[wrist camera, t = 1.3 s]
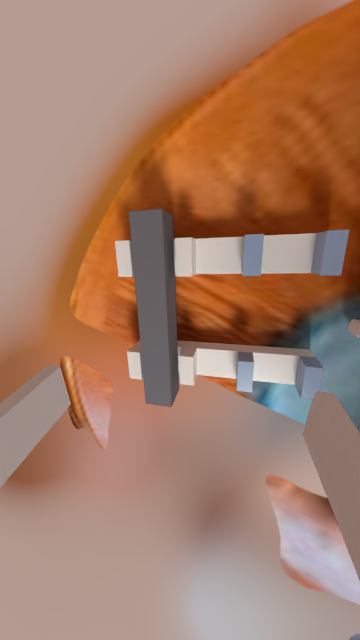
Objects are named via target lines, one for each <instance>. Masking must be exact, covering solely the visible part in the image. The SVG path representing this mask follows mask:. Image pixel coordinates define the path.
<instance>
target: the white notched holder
mask: <svg viewBox="0 0 360 640" xmlns="http://www.w3.org/2000/svg"><path fill="white" fill-rule="evenodd" d="M348 235H349V230H330V231H323V232H319V233H307V234H286V235H265V236H264V234H249V235H245V236H244V237H223V238H202V239H195V238H192V237H189V238H175V240H174V260H175V274H176V276H194V275H195V274H242V275H243V276H261V274H262V273H312V274H316V275H320V276H335V275H341V273H342V268H343V262H344V257H345V251H346V246H347V240H348ZM115 247H116V256H117V265H118V274H119V277H133V276H134V266H133V255H132V244H131V241H130V240H128V241H115ZM177 344H178V372H179V373H180V384H185V385H194V383H195V379H196V376H197V375H205V376H215V377H224V378H234V379H237V391H244V392H252V384H253V381H263V382H272V383H282V384H292V385H295V386H296V388H297V390H298V393H299V395H300V397H301V398H305V399H313V398H314V394H315V392H320V388H321V383H322V377H323V372H324V368H323V366H322V365H321V364H320V362H319V361H318V360H317V358H316V357H315V356H314V354H313V353H312V352H311V350H310V349H297V348H282V347H267V346H252V345H237V344H222V343H207V342H193V341H178V340H177ZM127 355H128V364H129V373H130V378H133V379H141V380H142V379H143V367H142V356H141V344H140V340H139V341H138V342H137V343H136V344H135V345H134V346H133V347H132V348H131V349H130V350H128V351H127Z"/></svg>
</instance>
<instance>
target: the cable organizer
mask: <svg viewBox="0 0 360 640" xmlns="http://www.w3.org/2000/svg"><path fill="white" fill-rule="evenodd" d="M346 329H347V330H348V331H349V332H351V333H352V334H354V335H355V336H356V337H358V338H359V339H360V320H357V319H352V320H351V322H350V324H349V325H348V327H347V328H346Z"/></svg>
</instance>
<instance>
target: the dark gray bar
mask: <svg viewBox="0 0 360 640" xmlns="http://www.w3.org/2000/svg"><path fill="white" fill-rule="evenodd" d="M129 222H130V233H131V244H132V255H133V266H134V278H135V289H136V300H137V311H138V322H139V333H140V344H141V356H142V367H143V378H144V389H145V400H146V403H147V404H154V405H161V406H168V407H172V404H173V402H174V400H175V398H176V395H177V393H178V390H179V372H178V344H177V316H176V288H175V260H174V233H173V215H172V214H170V213H168V212H167V211H165V210H163V209H153V210H141V211H129Z"/></svg>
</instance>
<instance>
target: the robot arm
mask: <svg viewBox="0 0 360 640" xmlns="http://www.w3.org/2000/svg"><path fill="white" fill-rule="evenodd" d="M70 405H71V403H70V400H69V396H68V393H67V389H66V386H65V382H64V379H63V375H62V372H61V368H60V366H49V365H48V366H47V367H45V368H44V369H43V370H42V371H40V372H39V373H38V374H37V375H35V376H34V377H33V378H32V379H30V380H29V381H28V382H27V383H25V384H24V385H23V386H22V387H20V388H19V389H18V390H17V391H15V392H14V393H13V394H12V395H10V396H9V397H8V398H7V399H6V400H4V401H3V402H2V403H1V404H0V487H1V486H2V485H3V484H4V482H5V481H6V480H7V479H8V478H9V477H10V475H11V474H12V473H13V472H14V471H15V470H16V468H17V467H18V466H19V465H20V464H21V462H22V461H23V460H24V459H25V458H26V457H27V455H28V454H29V453H30V452H31V451H32V449H33V448H34V447H35V446H36V445H37V444H38V442H39V441H40V440H41V439H42V438H43V436H44V435H45V434H46V433H47V432H48V430H49V429H50V428H51V427H52V426H53V425H54V423H55V422H56V421H57V420H58V419H59V418H60V416H61V415H62V414H63V413H64V412H65V410H66V409H67V408H68V407H69V406H70ZM303 436H304V438H305V441H306V443H307V446H308V449H309V451H310V454H311V456H312V459H313V461H314V464H315V467H316V469H317V472H318V474H319V477H320V480H321V482H322V485H323V487H324V490H325V492H326V495H327V497H328V500H329V503H330V505H331V508H332V510H333V513H334V515H335V518H336V521H337V523H338V526H339V528H340V531H341V533H342V536H343V539H344V541H345V544H346V546H347V549H348V551H349V554H350V556H351V559H352V562H353V564H354V567H355V569H356V572H357V574H358V577H359V580H360V432H359V431H358V429H357V428H356V426H355V425H354V423H353V422H352V420H351V419H350V417H349V416H348V414H347V413H346V411H345V410H344V408H343V407H342V405H341V404H340V402H339V401H338V399H337V398H336V396H335V395H334V393H324V392H315V394H314V398H313V401H312V404H311V408H310V411H309V415H308V418H307V422H306V425H305V429H304V432H303ZM349 640H360V634H355V635H353V636H351V637H350V639H349Z"/></svg>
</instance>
